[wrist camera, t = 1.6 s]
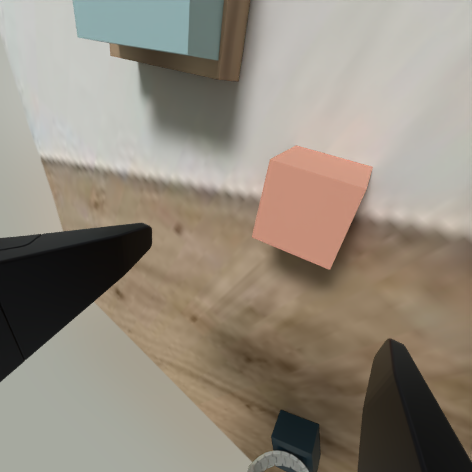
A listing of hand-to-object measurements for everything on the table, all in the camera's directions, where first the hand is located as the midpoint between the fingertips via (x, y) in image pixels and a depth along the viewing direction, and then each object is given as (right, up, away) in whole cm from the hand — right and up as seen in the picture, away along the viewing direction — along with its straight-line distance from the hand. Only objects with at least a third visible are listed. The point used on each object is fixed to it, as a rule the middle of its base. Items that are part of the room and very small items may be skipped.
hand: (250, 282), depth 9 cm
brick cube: (+5, +5, +9) cm, 12 cm away
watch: (+7, -21, +22) cm, 31 cm away
